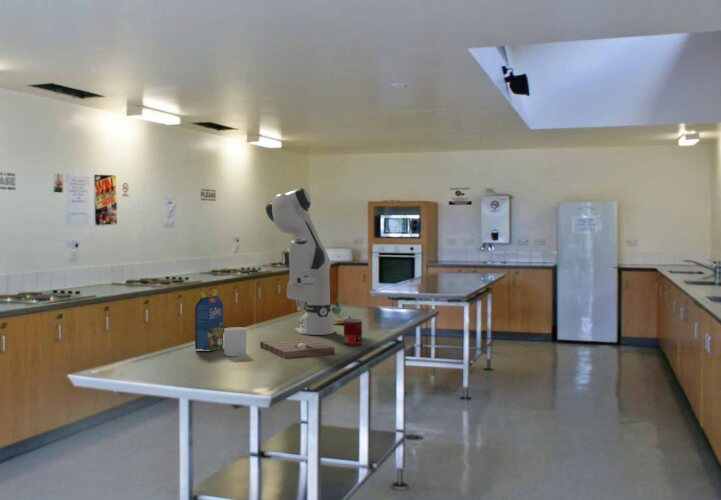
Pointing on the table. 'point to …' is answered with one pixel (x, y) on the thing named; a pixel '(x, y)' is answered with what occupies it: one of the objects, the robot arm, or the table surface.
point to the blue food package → (209, 321)
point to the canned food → (352, 332)
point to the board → (290, 347)
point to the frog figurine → (337, 312)
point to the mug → (235, 341)
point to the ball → (301, 346)
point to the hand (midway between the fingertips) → (300, 311)
